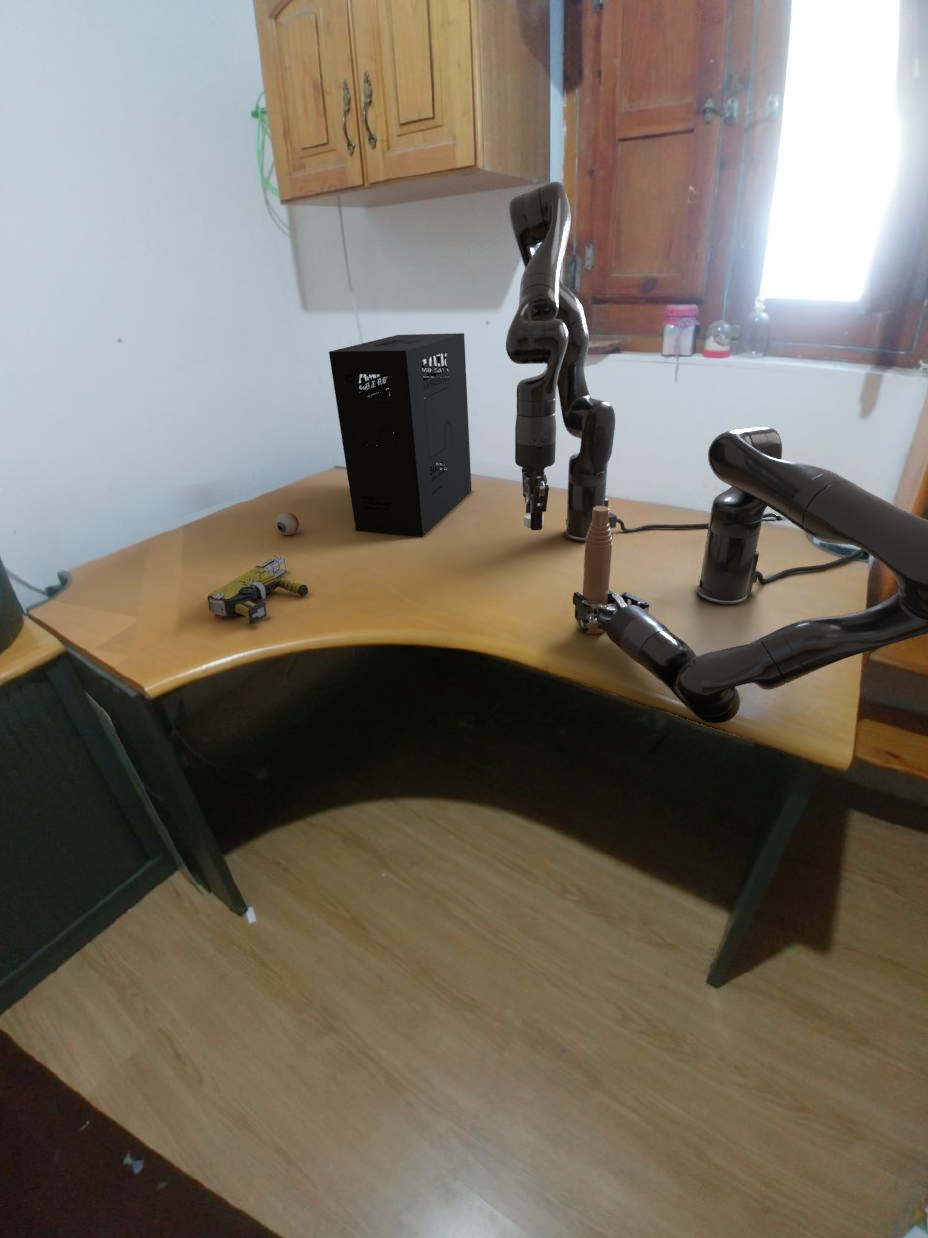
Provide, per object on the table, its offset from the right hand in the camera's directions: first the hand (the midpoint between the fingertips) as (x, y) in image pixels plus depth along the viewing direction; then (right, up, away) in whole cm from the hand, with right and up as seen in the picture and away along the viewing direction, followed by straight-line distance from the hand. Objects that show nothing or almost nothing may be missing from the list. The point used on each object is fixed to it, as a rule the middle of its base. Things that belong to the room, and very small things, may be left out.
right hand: (587, 593), depth 114 cm
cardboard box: (-37, +27, +63) cm, 78 cm away
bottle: (+1, -6, +1) cm, 7 cm away
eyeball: (-71, +18, +51) cm, 90 cm away
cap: (-10, +15, +6) cm, 19 cm away
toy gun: (-66, 0, +18) cm, 68 cm away
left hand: (-9, +14, +6) cm, 18 cm away
